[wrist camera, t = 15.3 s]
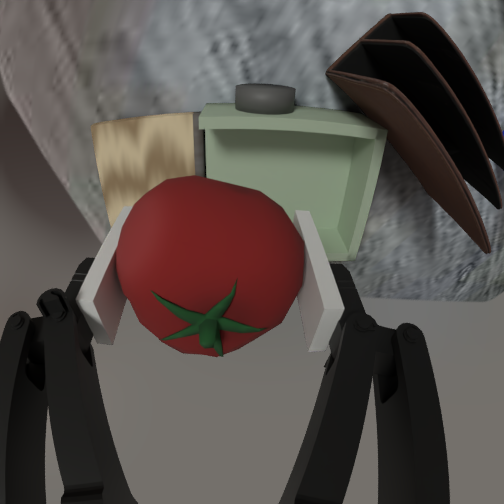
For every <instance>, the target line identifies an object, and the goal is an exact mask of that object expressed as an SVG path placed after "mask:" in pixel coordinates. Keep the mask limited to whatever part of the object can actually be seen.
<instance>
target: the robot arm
mask: <svg viewBox="0 0 504 504" xmlns="http://www.w3.org/2000/svg"><path fill="white" fill-rule="evenodd" d="M132 207H133V206H124V207H123V209H122V211H121V212H120V214H119V216H118V217H117V219H116V221H115V223H114V224H113V226H112V228H111V230H110V232H109V233H108V235H107V237H106V239H105V241H104V243H103V244H102V246H101V248H100V250H99V252H98V254H97V256H96V258H86V259H85V260H84V261H83V262H82V263H81V264H80V265H79V266H78V268H77V270H76V272H75V274H74V276H73V278H72V281H71V282H70V284H69V286H68V288H67V290H66V292H65V293H64V292H63V291H62V290H61V289H57V288H55V289H50V290H47V291H45V292H44V293H43V294H42V295H41V296H40V297H39V299H38V301H37V306H38V308H39V310H40V311H41V313H42V315H43V316H42V317H37V318H30V316H29V315H28V314H27V313H26V312H24V311H19V312H16V313H14V314H12V315H11V316H10V317H9V319H8V321H7V323H6V325H5V328H4V331H3V335H2V338H1V341H0V504H46V492H45V437H46V421H47V410H48V408H49V416H50V423H51V429H52V435H53V441H54V446H55V451H56V456H57V461H58V465H59V469H60V474H61V477H62V481H63V485H64V494H63V496H62V497H61V504H138V502H137V501H136V500H135V499H134V497H133V496H132V494H131V492H130V489H129V487H128V484H127V481H126V479H125V476H124V473H123V470H122V467H121V464H120V461H119V458H118V455H117V452H116V448H115V445H114V442H113V438H112V435H111V431H110V427H109V424H108V420H107V416H106V412H105V408H104V404H103V399H102V395H101V389H100V385H99V379H98V374H97V369H96V363H95V357H94V350H93V347H92V345H91V340H92V337H93V336H94V338H95V340H96V342H97V343H100V344H107V345H113V342H114V339H115V336H116V332H117V329H118V326H119V322H120V319H121V316H122V312H123V309H124V306H125V303H126V300H127V297H126V296H125V295H124V294H123V290H122V287H121V284H120V281H119V278H118V274H117V271H116V249H117V245H118V241H119V237H120V233H121V229H122V226H123V224H124V222H125V220H126V218H127V216H128V215H129V213H130V211H131V209H132ZM293 224H294V226H295V228H296V229H297V231H298V232H299V234H300V236H301V237H302V239H303V241H304V269H303V285H302V287H301V289H300V290H299V292H298V294H297V298H298V303H299V308H300V313H301V318H302V323H303V328H304V334H305V339H306V344H307V349H308V352H318V351H326V349H327V347H328V344H329V345H330V349H331V354H330V356H329V358H328V360H327V361H326V363H325V366H324V367H325V368H326V369H325V372H324V376H323V379H322V383H321V387H320V390H319V393H318V397H317V400H316V403H315V406H314V410H313V413H312V416H311V419H310V422H309V425H308V428H307V431H306V434H305V437H304V440H303V443H302V446H301V448H300V451H299V454H298V457H297V459H296V462H295V465H294V467H293V470H292V473H291V475H290V478H289V480H288V483H287V485H286V488H285V490H284V493H283V495H282V497H281V500H280V502H279V504H342V503H343V500H344V497H345V493H346V490H347V487H348V484H349V481H350V477H351V474H352V470H353V466H354V463H355V459H356V455H357V451H358V447H359V443H360V439H361V434H362V430H363V425H364V420H365V415H366V410H367V405H368V400H369V394H370V388H371V382H372V376H373V384H374V394H375V406H376V420H377V439H378V504H450V492H449V474H448V461H447V451H446V442H445V434H444V427H443V421H442V414H441V409H440V403H439V397H438V392H437V388H436V383H435V378H434V373H433V369H432V365H431V360H430V356H429V353H428V348H427V345H426V341H425V337H424V335H423V333H422V331H421V330H420V329H419V328H418V327H417V326H415V325H413V324H410V323H403V324H401V325H400V326H398V328H397V330H395V329H390V328H386V327H382V326H379V325H377V323H376V321H375V320H374V319H373V318H372V317H371V316H370V315H367V314H366V313H365V310H364V307H363V305H362V302H361V300H360V297H359V294H358V292H357V289H356V288H355V284H354V282H353V279H352V277H351V274H350V272H349V271H348V270H347V269H346V268H345V266H344V265H343V264H329V262H328V259H327V256H326V253H325V251H324V248H323V245H322V242H321V240H320V237H319V234H318V232H317V229H316V227H315V224H314V221H313V219H312V216H311V214H310V211H302V210H295V214H294V220H293Z"/></svg>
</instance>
